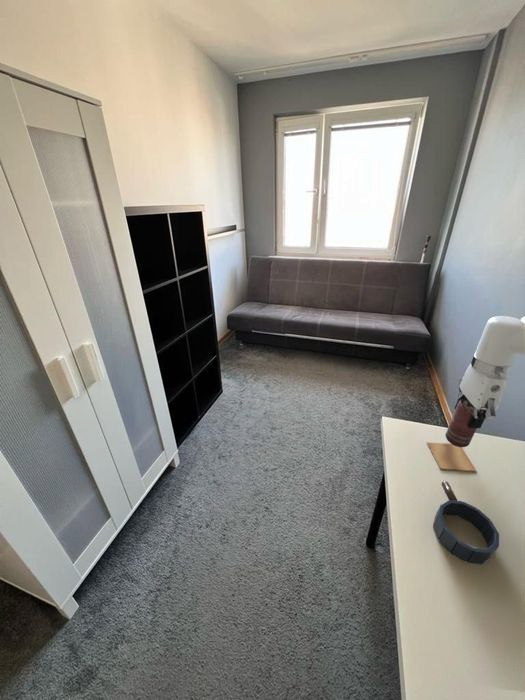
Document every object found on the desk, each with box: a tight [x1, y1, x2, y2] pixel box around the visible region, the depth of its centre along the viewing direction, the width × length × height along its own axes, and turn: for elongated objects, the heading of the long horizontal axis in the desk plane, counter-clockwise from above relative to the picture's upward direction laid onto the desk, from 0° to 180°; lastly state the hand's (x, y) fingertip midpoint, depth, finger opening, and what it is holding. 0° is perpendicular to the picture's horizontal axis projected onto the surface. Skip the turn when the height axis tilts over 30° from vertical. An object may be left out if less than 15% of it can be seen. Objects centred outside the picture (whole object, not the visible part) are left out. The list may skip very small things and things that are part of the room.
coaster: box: [426, 441, 477, 473], centre depth 87 cm, size 10×10×1 cm
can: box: [445, 398, 483, 448], centre depth 80 cm, size 6×6×14 cm
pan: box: [432, 480, 500, 565], centre depth 68 cm, size 12×18×5 cm, turn 173°
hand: (466, 417), depth 79 cm, fingers closed on can, 6 cm apart
